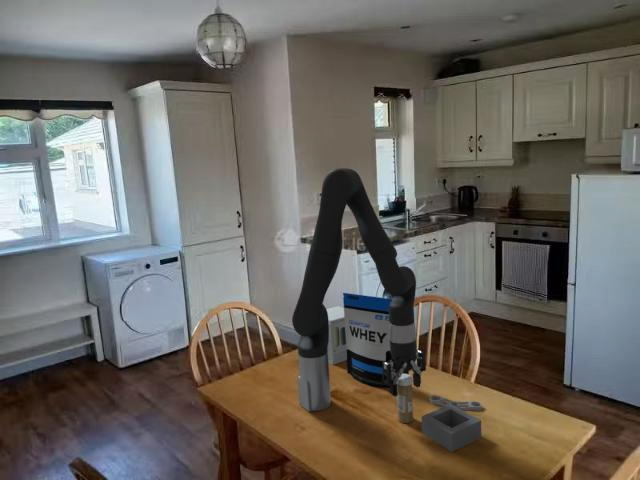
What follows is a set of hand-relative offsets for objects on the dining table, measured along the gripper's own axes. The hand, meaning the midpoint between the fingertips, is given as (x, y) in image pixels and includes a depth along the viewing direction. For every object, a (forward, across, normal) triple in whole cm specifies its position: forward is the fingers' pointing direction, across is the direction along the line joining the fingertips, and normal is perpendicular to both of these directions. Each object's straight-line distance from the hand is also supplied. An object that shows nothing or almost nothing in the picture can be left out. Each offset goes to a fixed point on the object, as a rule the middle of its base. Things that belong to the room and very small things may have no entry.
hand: (405, 390), depth 139 cm
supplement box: (+9, -10, -52) cm, 54 cm away
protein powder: (+9, -9, -25) cm, 28 cm away
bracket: (+10, -17, +3) cm, 20 cm away
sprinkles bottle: (+9, 0, 0) cm, 9 cm away
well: (+9, -4, +13) cm, 17 cm away
